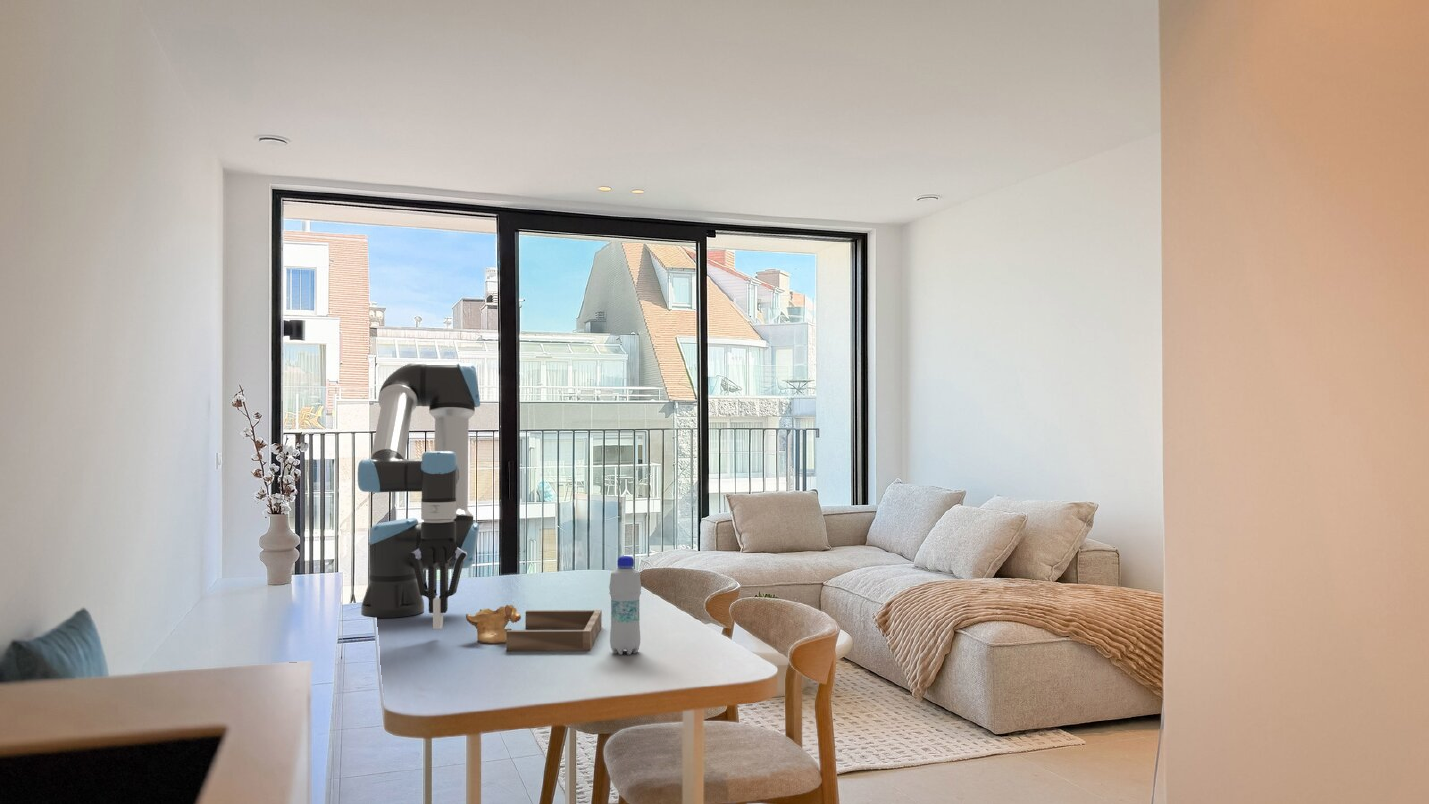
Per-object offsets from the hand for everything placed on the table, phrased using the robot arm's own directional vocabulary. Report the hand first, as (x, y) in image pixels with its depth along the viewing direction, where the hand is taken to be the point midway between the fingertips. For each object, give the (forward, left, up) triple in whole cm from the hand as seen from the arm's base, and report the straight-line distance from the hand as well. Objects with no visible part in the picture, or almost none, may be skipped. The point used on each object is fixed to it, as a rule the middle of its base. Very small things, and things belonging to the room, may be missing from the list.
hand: (438, 627), depth 216 cm
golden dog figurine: (+2, +13, -3) cm, 13 cm away
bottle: (+14, +42, -3) cm, 45 cm away
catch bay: (0, +25, -3) cm, 26 cm away
